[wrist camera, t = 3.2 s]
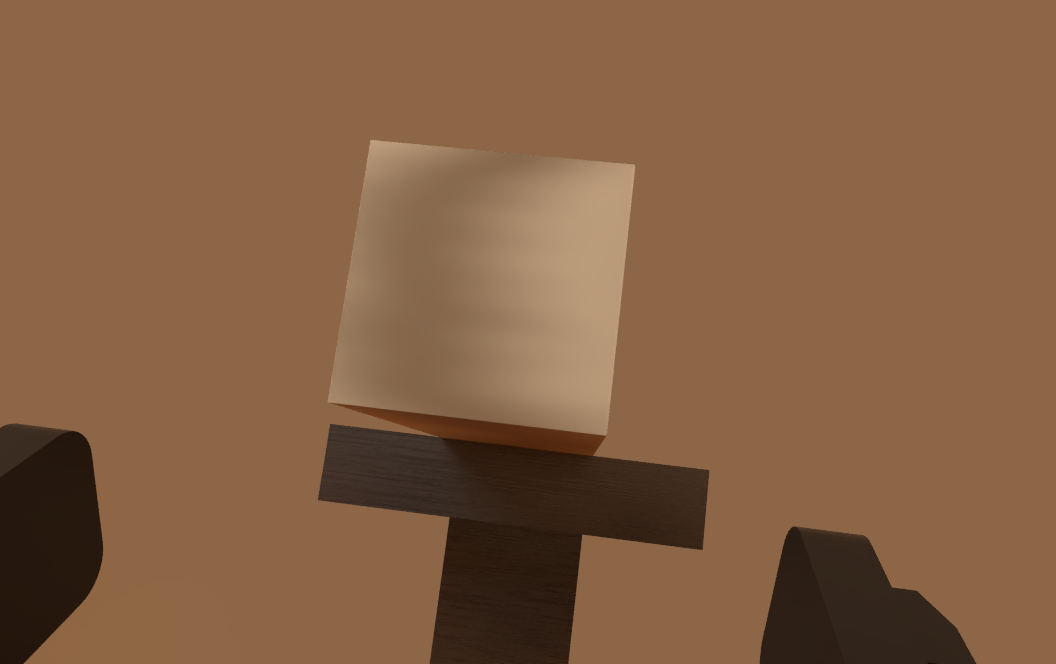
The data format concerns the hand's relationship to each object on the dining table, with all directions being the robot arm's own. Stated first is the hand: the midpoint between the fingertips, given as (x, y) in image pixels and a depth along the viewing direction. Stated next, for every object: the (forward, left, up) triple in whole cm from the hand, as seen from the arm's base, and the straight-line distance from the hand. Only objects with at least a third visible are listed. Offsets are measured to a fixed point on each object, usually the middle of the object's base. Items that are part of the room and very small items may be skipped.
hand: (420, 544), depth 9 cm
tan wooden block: (0, +15, +2) cm, 15 cm away
